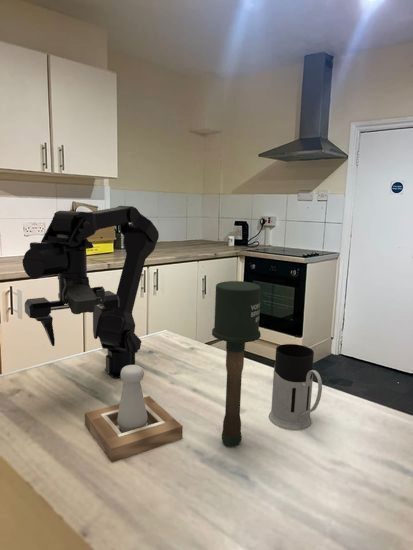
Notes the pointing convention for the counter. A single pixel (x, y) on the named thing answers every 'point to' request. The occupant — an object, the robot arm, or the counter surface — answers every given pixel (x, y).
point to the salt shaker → (132, 400)
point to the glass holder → (293, 387)
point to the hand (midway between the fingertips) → (74, 342)
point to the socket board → (136, 440)
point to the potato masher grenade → (235, 344)
